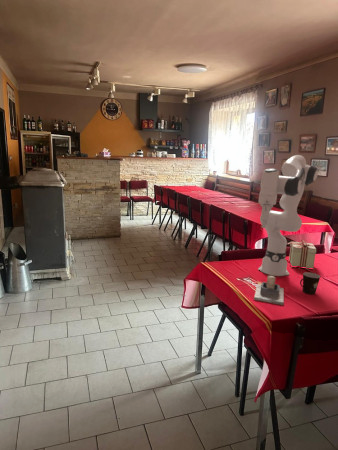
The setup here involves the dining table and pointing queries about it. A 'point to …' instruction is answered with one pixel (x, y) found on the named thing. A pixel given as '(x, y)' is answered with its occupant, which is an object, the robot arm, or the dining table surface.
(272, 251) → the robot arm
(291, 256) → the gift box
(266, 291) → the grey block with recess
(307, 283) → the coffee mug
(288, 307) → the dining table surface
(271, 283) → the disc
